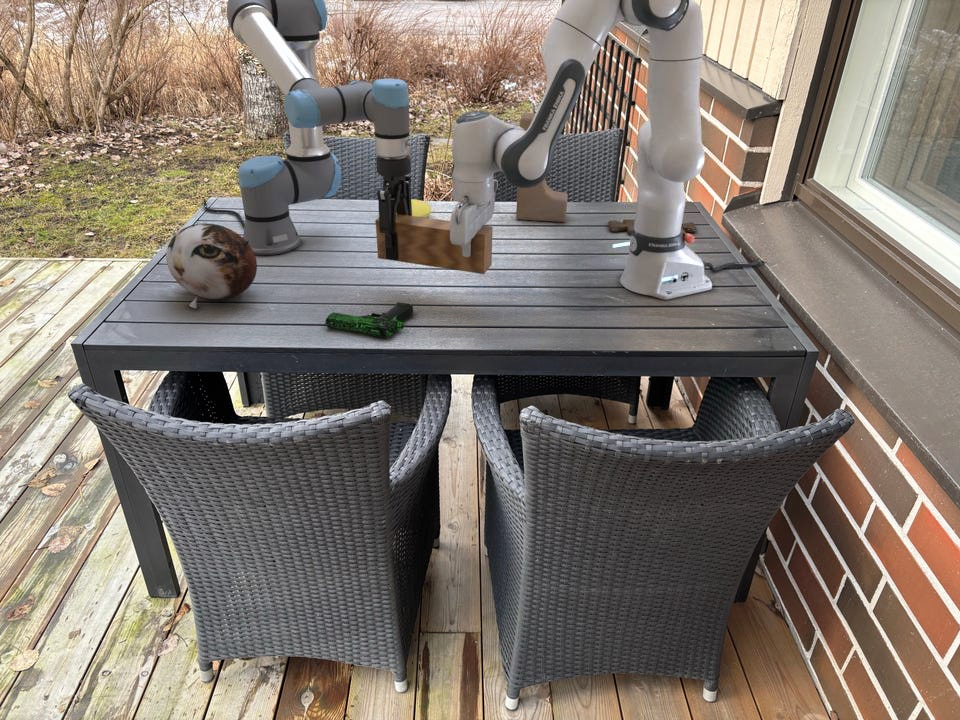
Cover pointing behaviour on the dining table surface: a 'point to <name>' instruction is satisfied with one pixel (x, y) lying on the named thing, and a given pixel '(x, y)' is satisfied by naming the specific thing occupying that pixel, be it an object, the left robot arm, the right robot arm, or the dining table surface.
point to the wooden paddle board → (628, 225)
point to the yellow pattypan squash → (420, 208)
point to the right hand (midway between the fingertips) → (472, 250)
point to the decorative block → (539, 195)
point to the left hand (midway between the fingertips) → (397, 253)
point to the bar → (436, 245)
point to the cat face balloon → (211, 261)
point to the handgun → (373, 321)
